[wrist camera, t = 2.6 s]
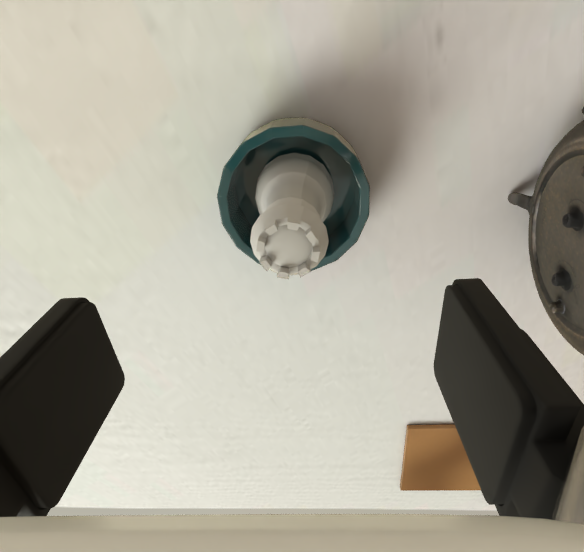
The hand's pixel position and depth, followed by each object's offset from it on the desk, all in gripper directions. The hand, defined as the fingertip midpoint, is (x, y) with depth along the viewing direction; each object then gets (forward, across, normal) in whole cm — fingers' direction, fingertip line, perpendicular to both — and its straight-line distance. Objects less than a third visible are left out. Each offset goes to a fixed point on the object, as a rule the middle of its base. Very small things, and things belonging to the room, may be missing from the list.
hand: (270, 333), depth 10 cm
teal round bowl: (+14, 0, 0) cm, 14 cm away
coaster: (+13, -13, +26) cm, 32 cm away
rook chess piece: (+13, 0, 0) cm, 13 cm away
